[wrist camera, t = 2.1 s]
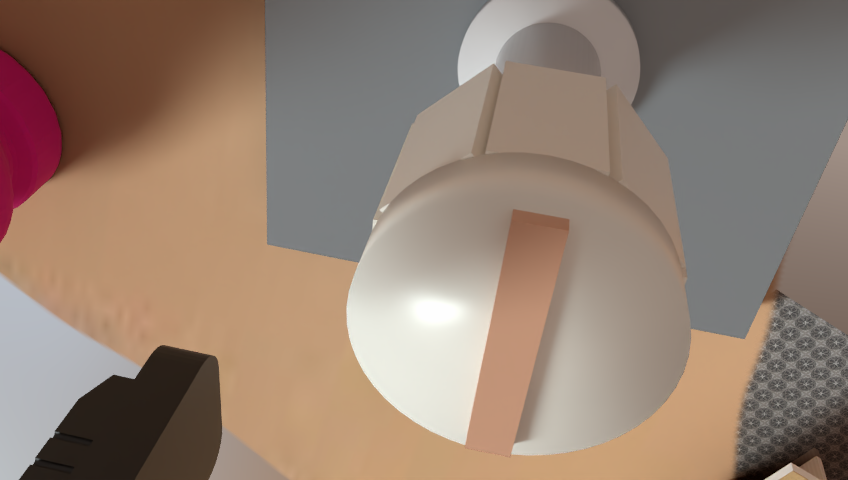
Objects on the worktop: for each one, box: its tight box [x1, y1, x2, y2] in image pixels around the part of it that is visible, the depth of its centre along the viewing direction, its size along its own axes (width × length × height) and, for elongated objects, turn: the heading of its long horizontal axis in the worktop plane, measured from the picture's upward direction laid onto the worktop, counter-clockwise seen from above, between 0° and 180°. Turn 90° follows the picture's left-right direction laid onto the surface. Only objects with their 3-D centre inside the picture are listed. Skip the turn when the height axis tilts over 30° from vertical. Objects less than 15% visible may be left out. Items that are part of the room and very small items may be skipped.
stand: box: [265, 0, 848, 339], centre depth 18 cm, size 16×16×12 cm
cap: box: [347, 61, 691, 457], centre depth 14 cm, size 5×5×5 cm
